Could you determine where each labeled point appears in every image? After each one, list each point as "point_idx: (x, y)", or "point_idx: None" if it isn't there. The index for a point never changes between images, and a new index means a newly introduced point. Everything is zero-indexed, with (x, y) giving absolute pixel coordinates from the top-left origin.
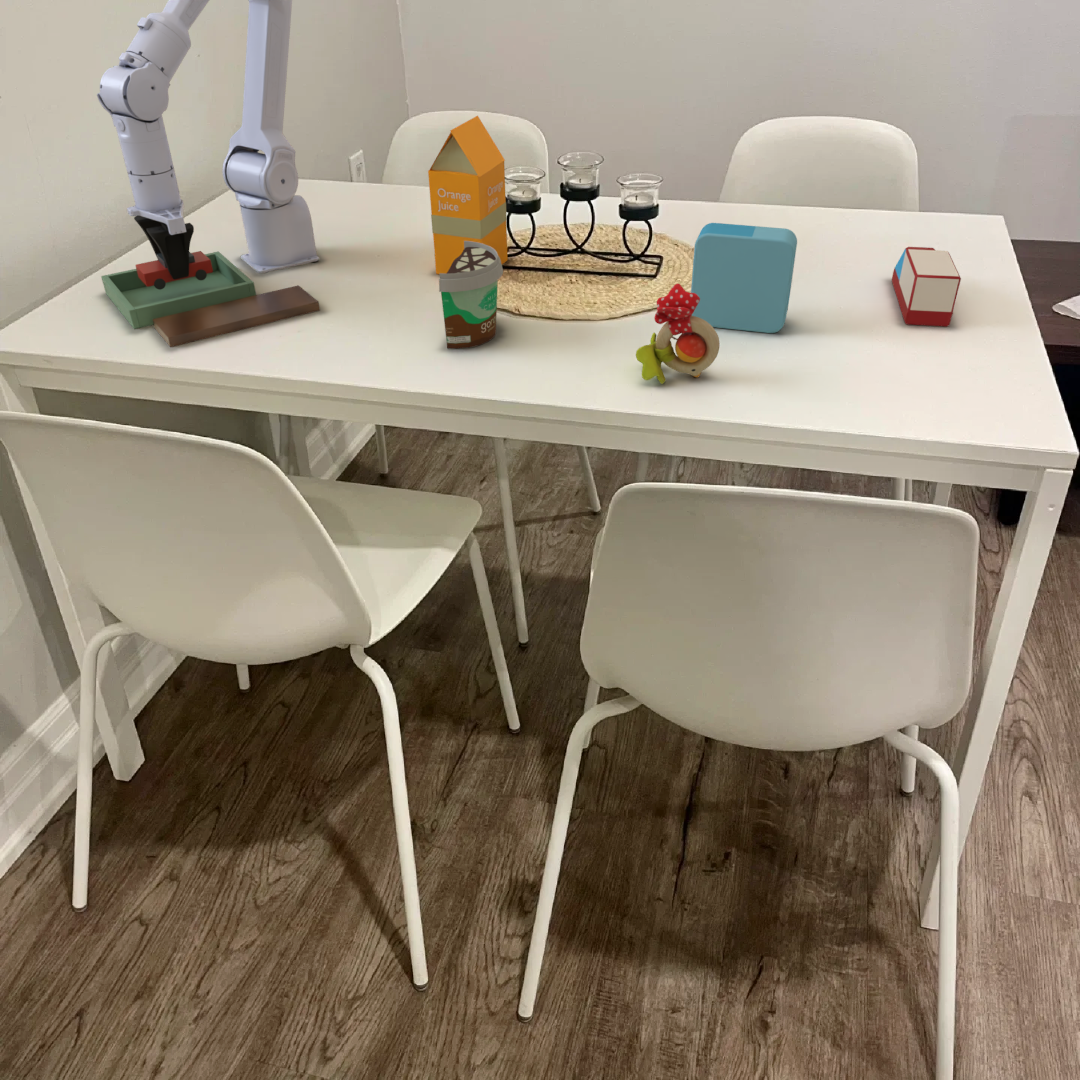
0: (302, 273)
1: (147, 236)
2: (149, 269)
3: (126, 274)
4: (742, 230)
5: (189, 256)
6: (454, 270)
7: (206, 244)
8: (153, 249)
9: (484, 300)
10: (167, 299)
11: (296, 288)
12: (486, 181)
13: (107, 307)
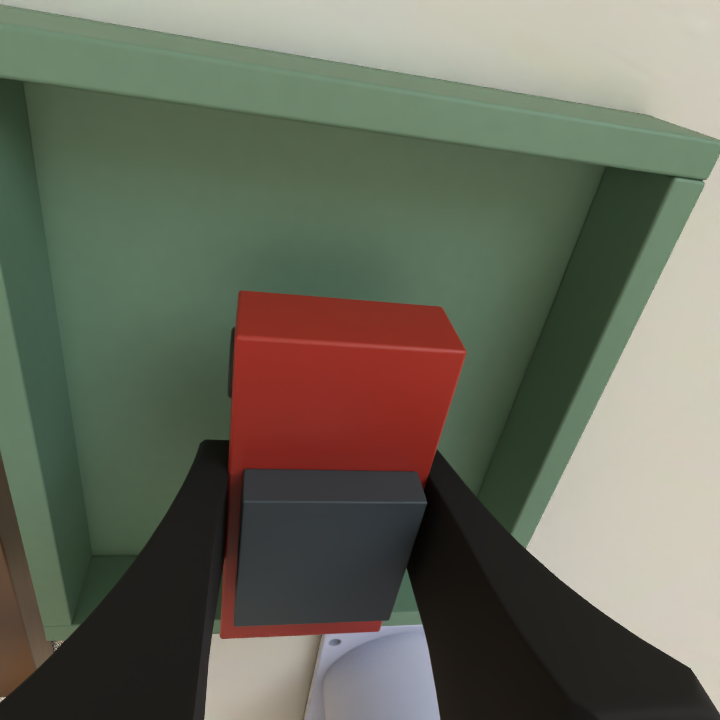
0: (248, 687)
1: (523, 588)
2: (302, 392)
3: (620, 278)
4: None
5: (234, 612)
6: None
7: (705, 573)
8: (483, 515)
9: None
10: None
11: (9, 687)
12: None
13: (488, 37)
